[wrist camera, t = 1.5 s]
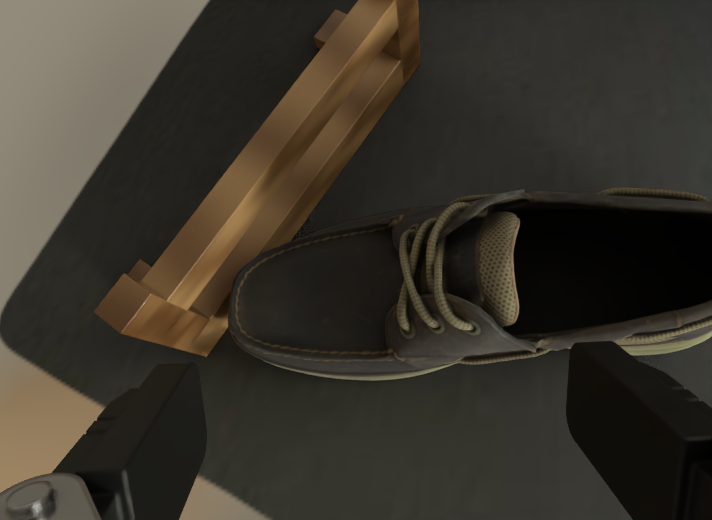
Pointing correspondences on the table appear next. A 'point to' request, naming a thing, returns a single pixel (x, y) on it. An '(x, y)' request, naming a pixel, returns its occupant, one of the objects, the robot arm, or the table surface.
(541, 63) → the table surface
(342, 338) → the boat shoe
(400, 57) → the wooden display stand
